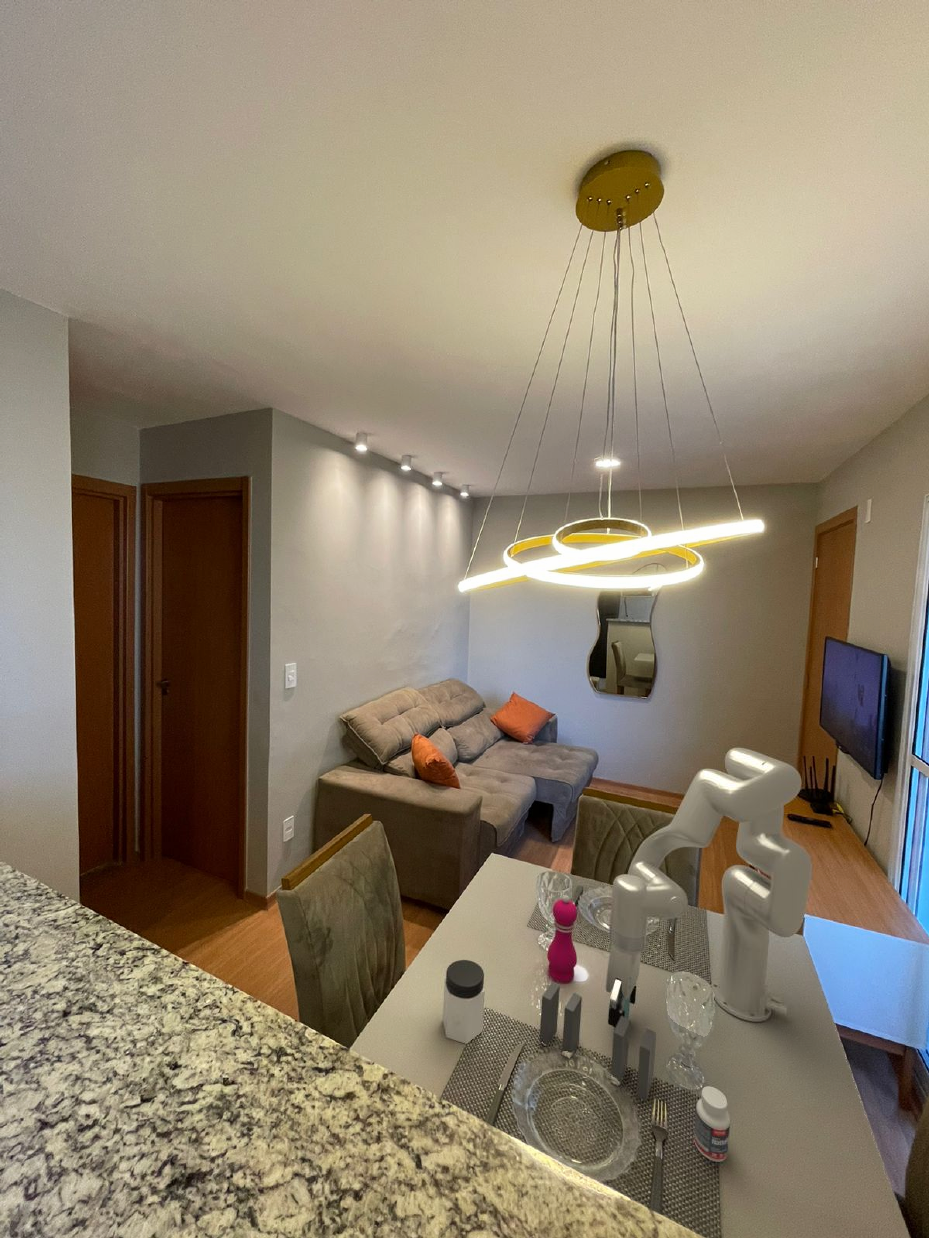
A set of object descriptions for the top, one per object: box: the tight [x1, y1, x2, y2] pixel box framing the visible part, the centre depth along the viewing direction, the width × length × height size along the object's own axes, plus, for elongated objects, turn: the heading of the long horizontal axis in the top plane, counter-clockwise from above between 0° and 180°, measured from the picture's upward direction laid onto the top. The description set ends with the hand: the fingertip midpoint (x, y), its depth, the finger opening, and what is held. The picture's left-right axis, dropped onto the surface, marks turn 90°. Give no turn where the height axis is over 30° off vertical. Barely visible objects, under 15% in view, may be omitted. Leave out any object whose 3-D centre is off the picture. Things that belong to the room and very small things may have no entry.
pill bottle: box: [693, 1085, 731, 1163], centre depth 89 cm, size 5×5×9 cm
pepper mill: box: [546, 894, 578, 984], centre depth 128 cm, size 7×7×20 cm
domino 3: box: [613, 990, 631, 1031], centre depth 113 cm, size 2×5×10 cm, turn 147°
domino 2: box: [561, 992, 583, 1052], centre depth 107 cm, size 2×5×10 cm, turn 147°
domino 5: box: [636, 1027, 657, 1103], centre depth 98 cm, size 2×5×10 cm, turn 147°
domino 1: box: [538, 981, 561, 1046], centre depth 109 cm, size 2×5×10 cm, turn 147°
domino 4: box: [610, 1016, 631, 1083], centre depth 101 cm, size 2×5×10 cm, turn 147°
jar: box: [442, 959, 486, 1045], centre depth 110 cm, size 9×8×12 cm
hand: (621, 1012), depth 113 cm, fingers open, 8 cm apart
